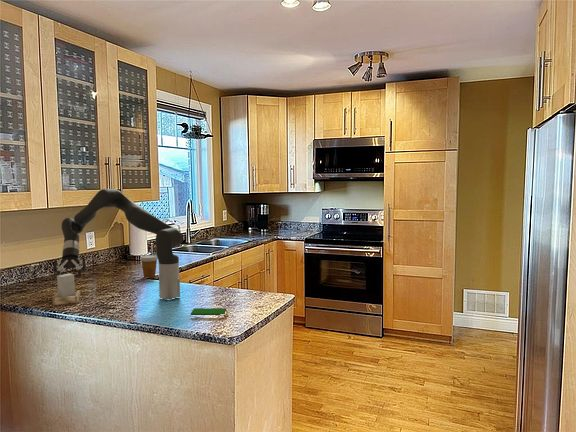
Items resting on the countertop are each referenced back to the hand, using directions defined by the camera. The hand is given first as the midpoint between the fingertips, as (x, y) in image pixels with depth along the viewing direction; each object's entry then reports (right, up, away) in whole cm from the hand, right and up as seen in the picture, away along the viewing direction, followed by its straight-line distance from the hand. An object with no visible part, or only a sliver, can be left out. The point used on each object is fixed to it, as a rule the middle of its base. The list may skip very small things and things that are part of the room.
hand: (69, 278), depth 201 cm
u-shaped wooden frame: (+4, -9, -9) cm, 14 cm away
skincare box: (+4, -9, -9) cm, 14 cm away
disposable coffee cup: (+27, -5, +36) cm, 45 cm away
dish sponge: (+74, -12, -29) cm, 81 cm away
